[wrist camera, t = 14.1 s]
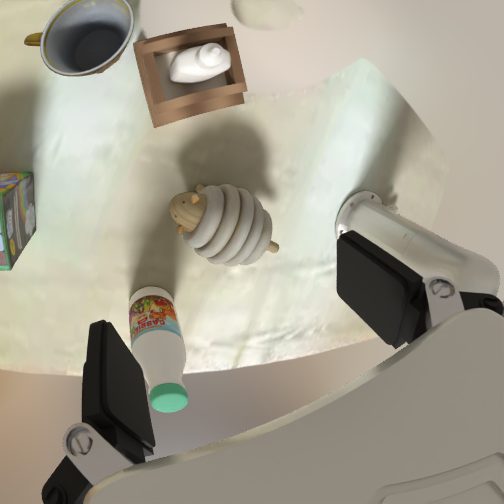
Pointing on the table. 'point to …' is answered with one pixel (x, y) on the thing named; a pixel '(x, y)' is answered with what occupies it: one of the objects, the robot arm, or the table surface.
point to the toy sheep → (223, 224)
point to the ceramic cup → (85, 36)
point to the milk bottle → (158, 347)
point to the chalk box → (15, 216)
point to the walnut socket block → (187, 95)
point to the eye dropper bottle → (199, 64)
